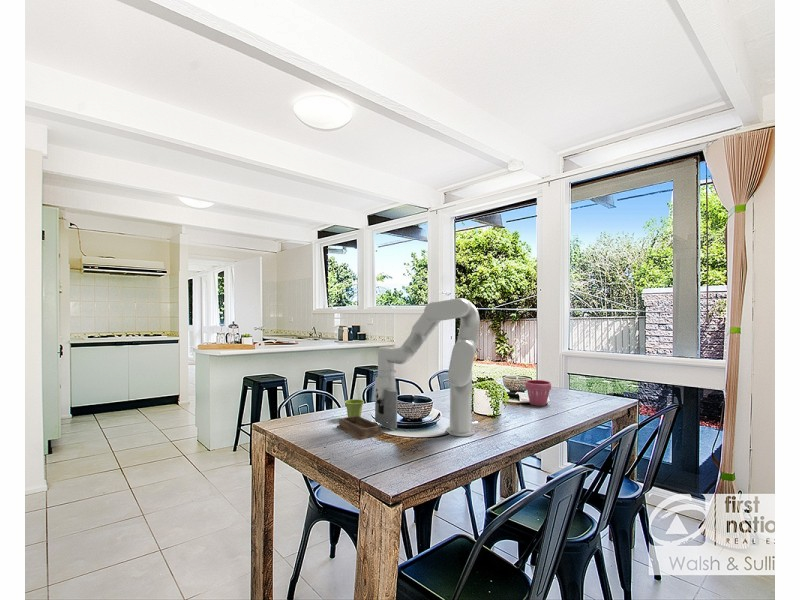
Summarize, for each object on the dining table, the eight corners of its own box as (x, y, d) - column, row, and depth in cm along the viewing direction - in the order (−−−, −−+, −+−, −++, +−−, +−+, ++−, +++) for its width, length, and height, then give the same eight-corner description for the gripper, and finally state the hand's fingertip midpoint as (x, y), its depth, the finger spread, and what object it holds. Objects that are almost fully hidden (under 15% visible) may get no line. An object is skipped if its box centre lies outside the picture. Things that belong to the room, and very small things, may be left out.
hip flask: (398, 429, 193) (398, 385, 193) (390, 431, 191) (391, 386, 191) (379, 421, 206) (379, 379, 206) (372, 422, 204) (372, 380, 204)
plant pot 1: (341, 420, 206) (341, 402, 206) (349, 415, 215) (349, 398, 215) (358, 422, 203) (359, 404, 203) (366, 417, 212) (366, 400, 212)
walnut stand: (359, 423, 202) (359, 415, 202) (383, 434, 186) (383, 425, 186) (336, 427, 195) (336, 419, 195) (359, 439, 179) (360, 430, 179)
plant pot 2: (520, 401, 251) (520, 379, 251) (542, 400, 254) (542, 379, 254) (533, 407, 237) (533, 384, 237) (555, 406, 240) (556, 383, 240)
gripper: (395, 370, 207) (394, 408, 207) (366, 374, 197) (365, 413, 197) (404, 373, 201) (404, 411, 201) (375, 376, 191) (374, 417, 191)
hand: (385, 412), depth 199 cm, fingers closed on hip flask, 3 cm apart
